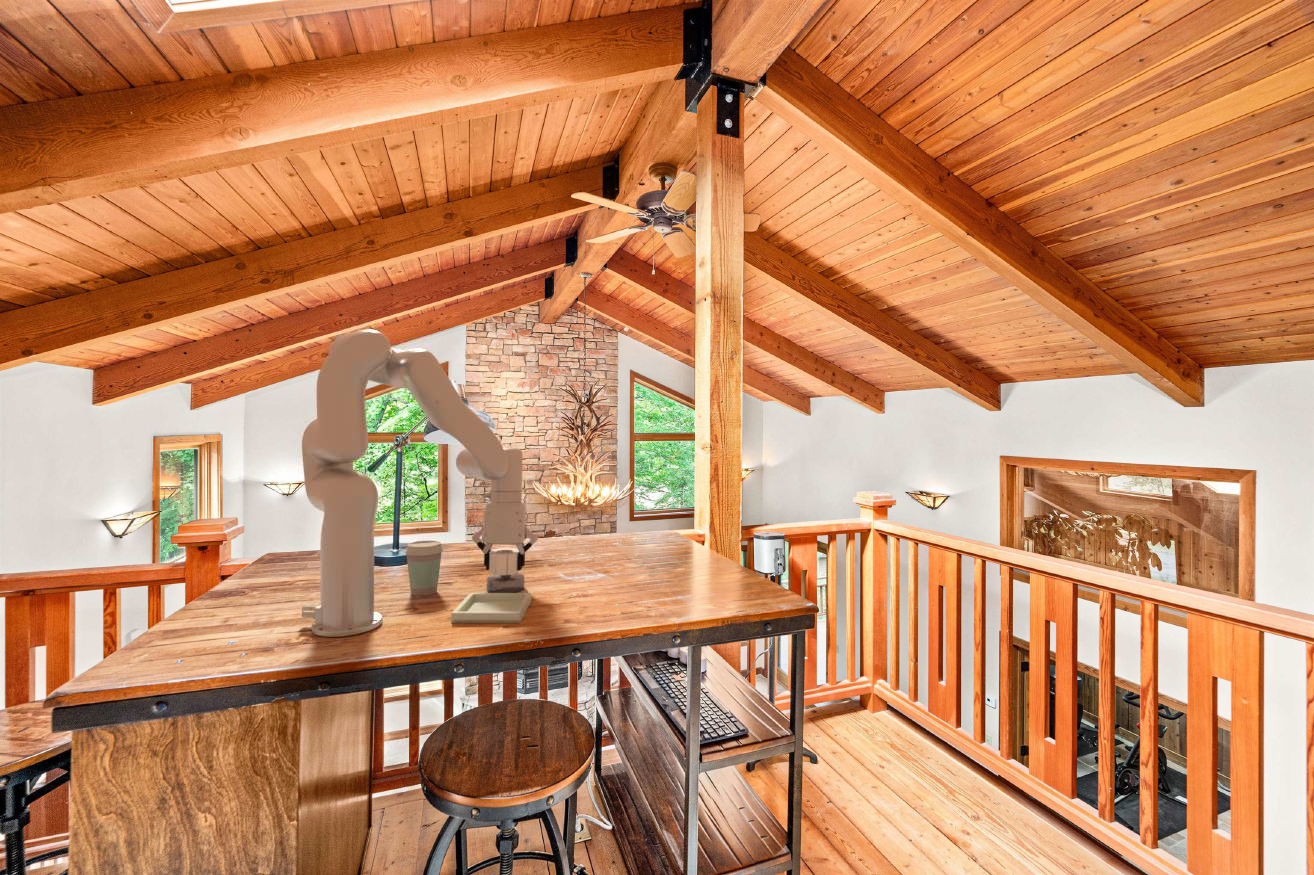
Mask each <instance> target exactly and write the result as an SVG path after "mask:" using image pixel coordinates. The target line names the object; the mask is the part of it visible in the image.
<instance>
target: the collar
mask: <svg viewBox="0 0 1314 875" xmlns="http://www.w3.org/2000/svg"><path fill="white" fill-rule="evenodd" d="M489 554H490V559H489V570H488V573H489V574H490V575H493V574H494V575H511V574H516V573H519V572H520V570H517V556H518V554H519V550H518V548H517V549H516V548H506V547H505V548H504V547H503V548H495V549H491V551H490V552H489Z"/></svg>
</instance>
